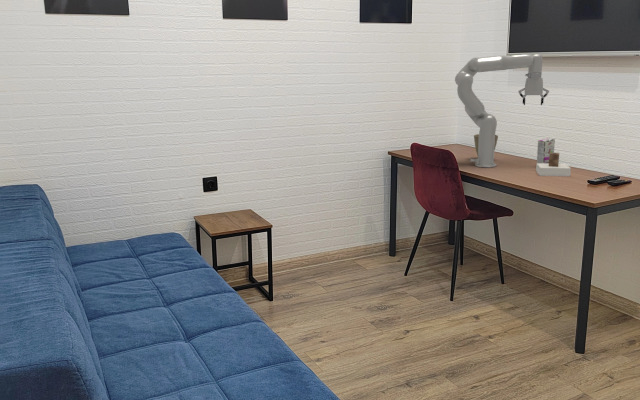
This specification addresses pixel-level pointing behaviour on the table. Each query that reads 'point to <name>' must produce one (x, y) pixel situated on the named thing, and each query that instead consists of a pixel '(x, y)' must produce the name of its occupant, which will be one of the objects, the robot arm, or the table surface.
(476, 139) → the plant pot
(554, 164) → the walnut block
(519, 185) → the table surface
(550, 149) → the candy bar box
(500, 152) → the table surface
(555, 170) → the riser block
